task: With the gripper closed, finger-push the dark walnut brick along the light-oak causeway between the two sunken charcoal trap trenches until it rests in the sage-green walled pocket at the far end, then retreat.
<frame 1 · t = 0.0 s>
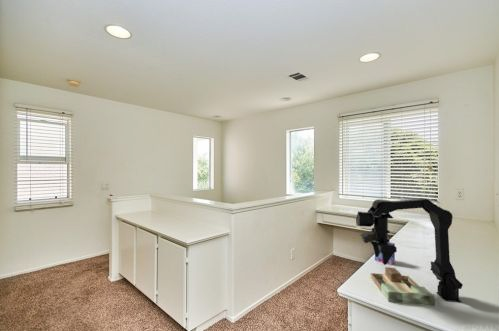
hand: (380, 260, 109), 15 cm above the table, fingers open, 9 cm apart
walnut brick: (393, 278, 117), point 2 cm above the table, touching trap board
trap board: (399, 290, 110), on the table
ink cartridge box: (384, 262, 144), on the table
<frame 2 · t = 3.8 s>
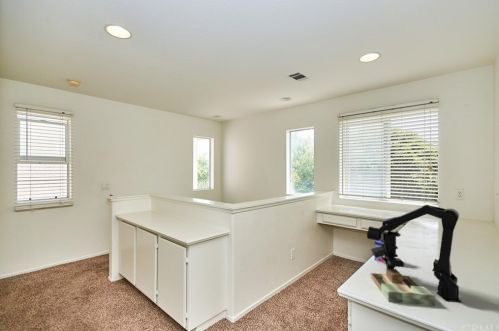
hand: (389, 273, 121), 3 cm above the table, fingers closed
walnut brick: (394, 279, 116), point 3 cm above the table, touching gripper
everything else where it was.
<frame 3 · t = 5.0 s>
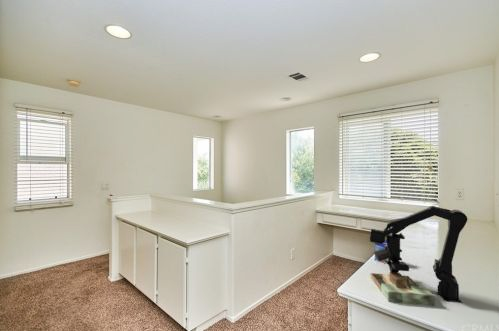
hand: (393, 277, 116), 3 cm above the table, fingers closed
walnut brick: (397, 284, 111), point 2 cm above the table, touching gripper, trap board
everything else where it was.
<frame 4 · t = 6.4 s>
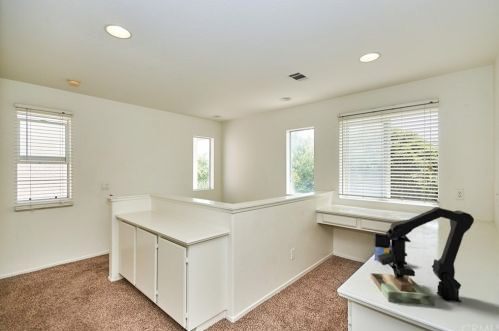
hand: (397, 282, 111), 3 cm above the table, fingers closed
walnut brick: (402, 289, 106), point 3 cm above the table, touching gripper
everything else where it was.
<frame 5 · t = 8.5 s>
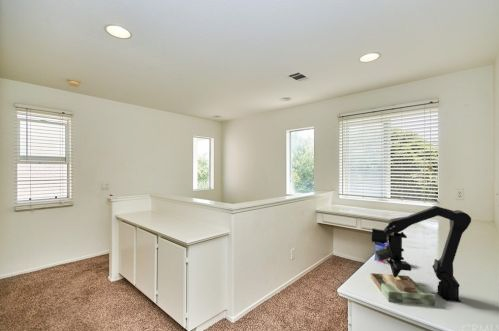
hand: (394, 276, 114), 4 cm above the table, fingers closed
walnut brick: (405, 292, 104), point 2 cm above the table, touching trap board
everything else where it was.
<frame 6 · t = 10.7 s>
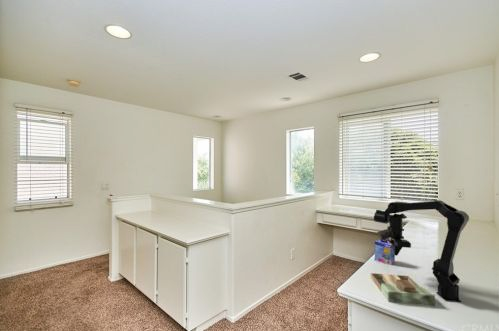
hand: (395, 255, 123), 12 cm above the table, fingers closed
nothing on the table moved.
at the end: walnut brick 0.8 cm from the target spot on the trap board, point 2.5 cm above the trap board's base; walnut brick tilted 0° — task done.
